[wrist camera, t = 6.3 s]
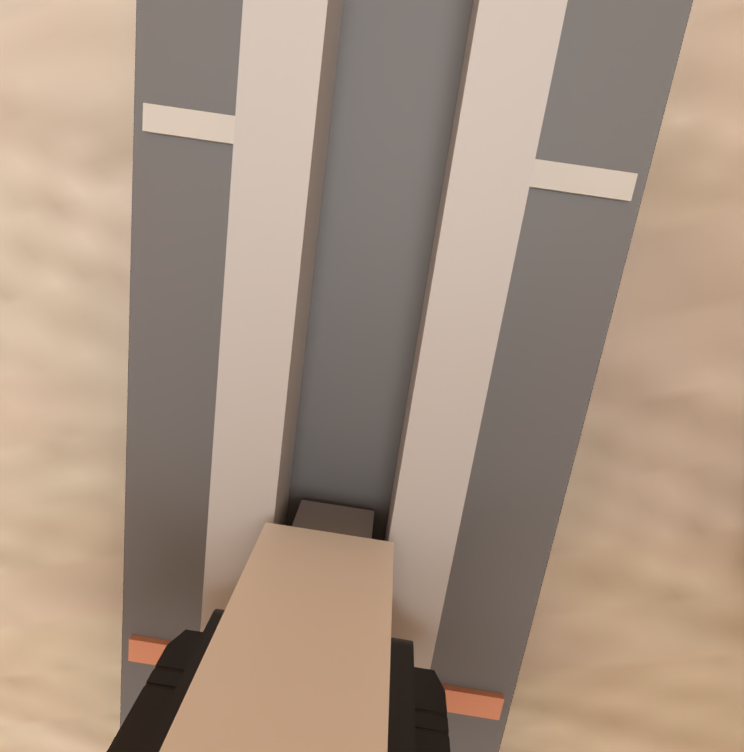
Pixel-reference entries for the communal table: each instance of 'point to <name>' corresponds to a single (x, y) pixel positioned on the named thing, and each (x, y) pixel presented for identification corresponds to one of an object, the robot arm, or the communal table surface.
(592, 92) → the track
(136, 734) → the robot arm
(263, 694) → the fader
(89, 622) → the communal table surface
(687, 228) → the communal table surface
